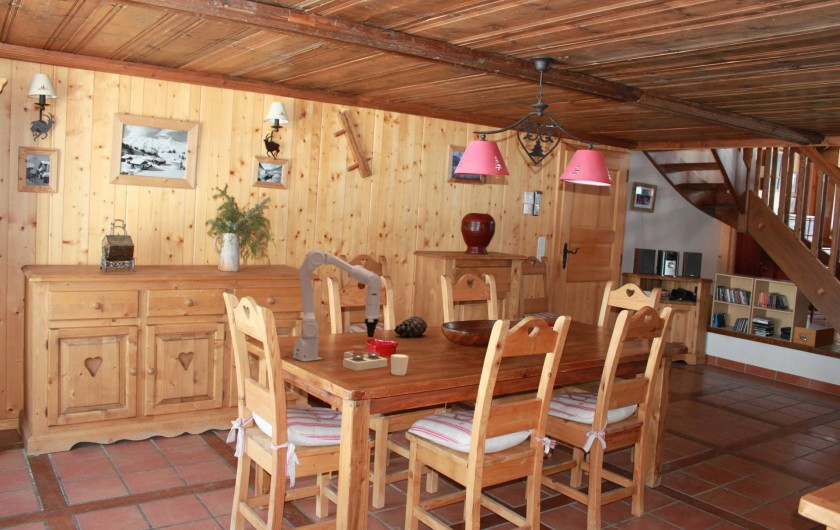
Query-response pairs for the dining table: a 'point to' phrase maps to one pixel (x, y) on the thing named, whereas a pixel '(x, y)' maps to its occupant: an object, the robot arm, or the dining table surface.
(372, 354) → the metal plug
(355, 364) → the socket block
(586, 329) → the dining table surface
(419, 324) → the pine cone
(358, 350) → the terracotta plug
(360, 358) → the metal plug
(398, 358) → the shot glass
